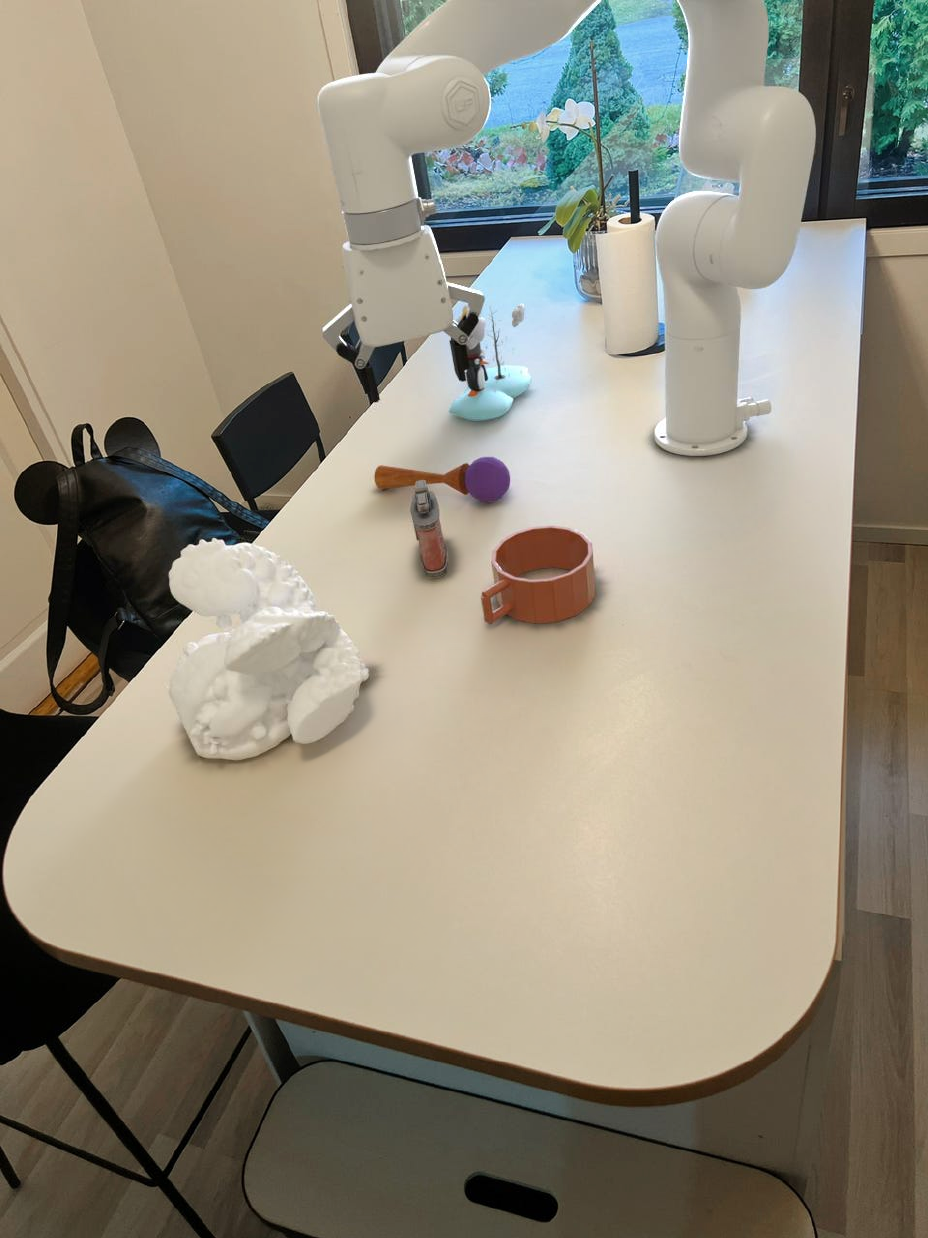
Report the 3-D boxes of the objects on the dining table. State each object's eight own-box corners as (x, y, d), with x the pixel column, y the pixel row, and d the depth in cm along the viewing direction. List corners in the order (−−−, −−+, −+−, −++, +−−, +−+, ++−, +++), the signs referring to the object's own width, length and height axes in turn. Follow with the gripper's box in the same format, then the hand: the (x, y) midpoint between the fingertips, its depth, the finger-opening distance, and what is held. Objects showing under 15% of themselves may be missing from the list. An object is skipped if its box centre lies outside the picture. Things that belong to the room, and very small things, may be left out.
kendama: (388, 450, 125) (514, 451, 115) (395, 490, 127) (519, 494, 118) (365, 462, 120) (495, 464, 111) (373, 504, 123) (500, 509, 113)
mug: (546, 555, 104) (541, 515, 101) (615, 587, 97) (613, 546, 94) (455, 613, 98) (447, 572, 95) (522, 652, 91) (516, 610, 87)
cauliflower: (86, 662, 85) (215, 505, 84) (237, 730, 99) (348, 597, 99) (140, 781, 72) (294, 597, 71) (305, 840, 86) (434, 687, 86)
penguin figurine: (500, 427, 134) (487, 330, 125) (438, 424, 139) (421, 330, 130) (543, 375, 148) (534, 284, 139) (486, 374, 153) (474, 286, 144)
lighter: (420, 545, 111) (405, 475, 105) (446, 540, 110) (433, 470, 105) (422, 580, 104) (407, 507, 98) (450, 575, 104) (436, 502, 98)
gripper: (462, 196, 89) (487, 357, 99) (296, 233, 88) (339, 393, 98) (477, 211, 83) (502, 381, 93) (299, 251, 82) (344, 419, 92)
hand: (418, 387), depth 96 cm, fingers open, 9 cm apart
